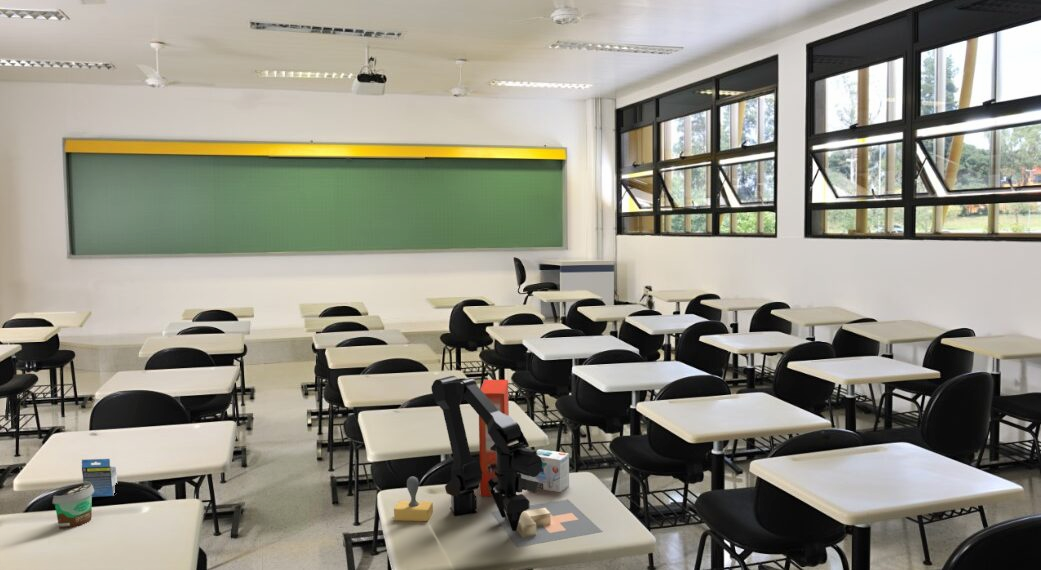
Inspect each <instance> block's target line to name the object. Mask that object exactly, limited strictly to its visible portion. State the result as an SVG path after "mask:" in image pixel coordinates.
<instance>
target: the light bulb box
mask: <svg viewBox="0 0 1041 570" xmlns="http://www.w3.org/2000/svg"><path fill="white" fill-rule="evenodd" d="M536 451H537V455H538V456H540V458H541V460H542V469H541V471H540V473H539V474H538V475H537V476H536V477H535V478H536V479H537V480H538V481H539V485H538V488H537V490H538V491H542V490H546V491H551V492H557V493H561V492H562V491H564V490H565V489H566V488H569V487H570V454H569V453H568V452H560V451H555V450H548V449H547V450H546V449H541V448H539V449H537V450H536Z"/></svg>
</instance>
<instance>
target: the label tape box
mask: <svg viewBox="0 0 1041 570" xmlns="http://www.w3.org/2000/svg"><path fill="white" fill-rule="evenodd" d="M94 463H97V464H94ZM81 472H82V482H83V484H82V485H84V481H87V482H90V483H91V484H92V486H93V488H94V493H93V494H92V498H98V497H114V496H115V495H114V493H115V485H116V483H117V484H118V475H117V468H116V466H112V465H111V459H110V458H94V459H93V458H91V459H83V458H82V459H81Z"/></svg>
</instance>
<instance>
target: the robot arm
mask: <svg viewBox="0 0 1041 570" xmlns="http://www.w3.org/2000/svg"><path fill="white" fill-rule="evenodd" d="M431 393H432V396H433V400H434V402H435V403H436V405H437V406H438V407H440V409H441V410H442V413H443V417H444V422H445V427H446V430H447V434H448V439H449V444H450V448H451V449H450V450H451V453H452V458H453V461H452V465H451V468H450V476H451V478H450V479H449V481H448V482H447V483H446V484H445V485H444V488H445V493H446V494H447V495H450V500H451V501H450V502H451V503H450V506H451V507H449V509H450V511H451V513H452V514H453V516H454V517H461V516H466V515H472V514H473V515H474V514H477V513H478V512H477V508H478V506H477V504H478V502H477V495H476V494H475V490H478V489H480V482H481V480H482V474H483V472H482V470H481V466H480V459H475V458H474V457H473V456H472V455H471V450H470V446H469V442H468V437H467V433H466V428H465V425H464V424H465V423H464V419H463V414H462V411H461V402H462V398H464V400H466V402H467V403H468V404H469V405H470V407H471V408H472V409H473V410H474V411H475V412H476V414H477V415H478V417H479V416H480V417H481V418H482V420H483V421H484V422H485V423H486V425H487V429H488V434H489V435H490V437H491V438H492V440H493V442H494V443H495V444H494V445H493V446H492V447H491V448H490V449H491V450H493V451H496V458H497V470H495V475H496V476H497V478H491V479H490V480H489V481H488V489H489V490H490V493H491V495H492V497H491V498H492V500H493V502H494V503H495V506H496V508H497V511H498V510H499V512H500V514H501V516H502V518H504V517H506V516H507V519H508V521H509V524H510V527H511V529H512V531H516V530H517V526H518V522H519V519H520V516H521V513H522V512H523V511H526V510H527V509H529V508H530V505H531V504H530V500H529V499H528V498H527V497H526V496H525V495H524V494H523V491H527V492H532V494H536V493H537V490H538V489H537V488H538V485H539V481H538V480H537V479H536V478H535V477H536V476H537V475H538V474H539V473H540V471H541V469H542V460H541V458H540V456H538V455H537V450H536V449H530V448H528V447H529V446H530V444H529V443H528V441H527V438H526V437H525V435H524V433H523V431H522V428H521V427H520V424H519V422H517V421H516V420H514V419H513V418H512V417H511V416H510V415H509V416H507V415H505V414H503V413H501V412H500V411H499V410H498V409H497V408H496V407H495V406H494V404H493V403H492V402H491V401H490V400H489V399H488V398H487V396H486V395H485V394H484V393H483V392H482V391H481V387H479V386H478V384H477V382H476V380H475V379H474V378H465V377H464V378H458V377H457V376H455V375H449V376H446V377H441V378H438V379H435V380H434V381H433V383H432V385H431ZM512 443H513V444H512ZM507 444H509V445H507ZM510 444H511V445H510ZM517 493H519V494H517Z"/></svg>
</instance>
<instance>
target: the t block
mask: <svg viewBox="0 0 1041 570" xmlns="http://www.w3.org/2000/svg"><path fill="white" fill-rule="evenodd" d="M506 518H507V516H506ZM545 524H551V516H550V512H549V511H548V510H547V509H546V508H540V509H534V510H528V511H523V512H522V513H521V516H520V519H519V522H518V526H517V531H518V532H519V534H520V535H521V536H522V537H526V536H531V535H537V533H536V526H540V525H545Z"/></svg>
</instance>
